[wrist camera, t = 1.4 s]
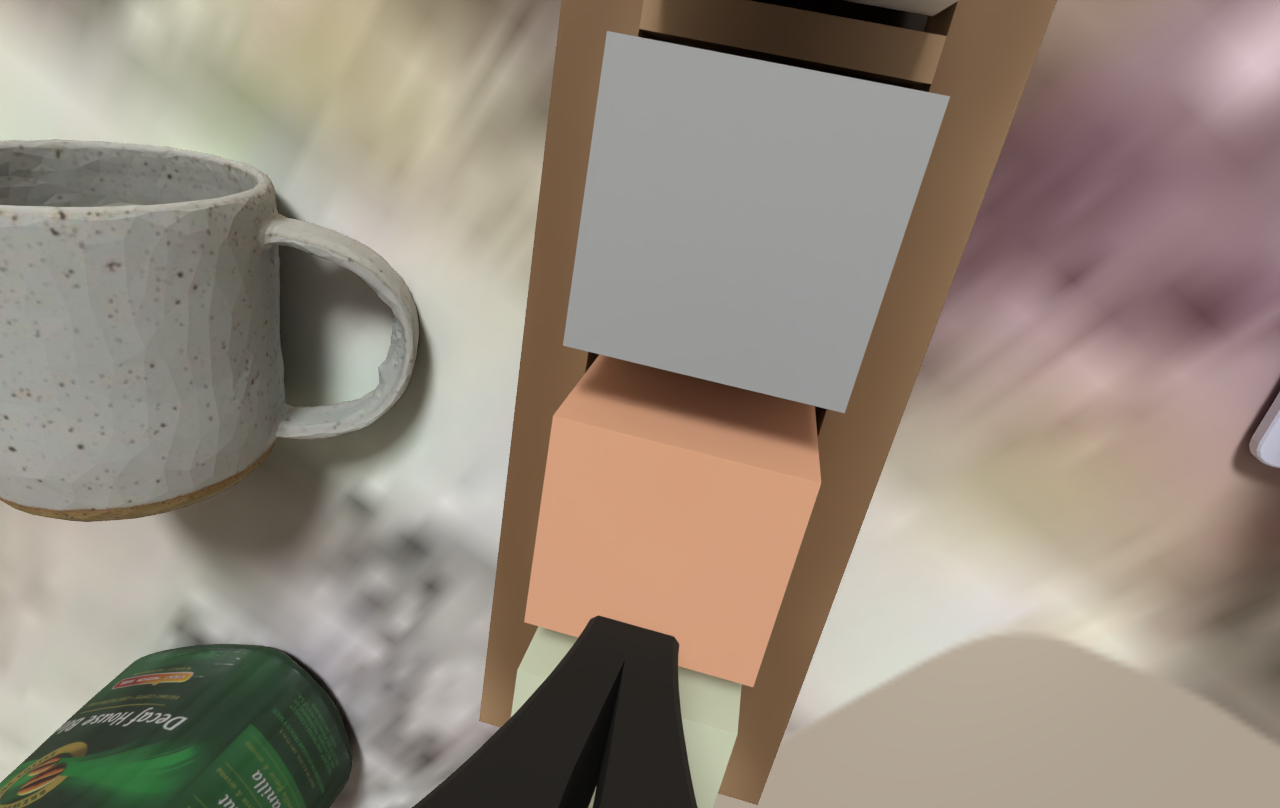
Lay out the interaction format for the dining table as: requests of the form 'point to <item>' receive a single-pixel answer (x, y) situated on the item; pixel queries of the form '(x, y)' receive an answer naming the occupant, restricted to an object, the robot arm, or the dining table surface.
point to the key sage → (702, 704)
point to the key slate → (743, 216)
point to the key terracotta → (674, 512)
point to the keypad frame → (917, 289)
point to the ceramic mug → (155, 328)
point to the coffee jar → (194, 738)
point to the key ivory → (911, 5)
